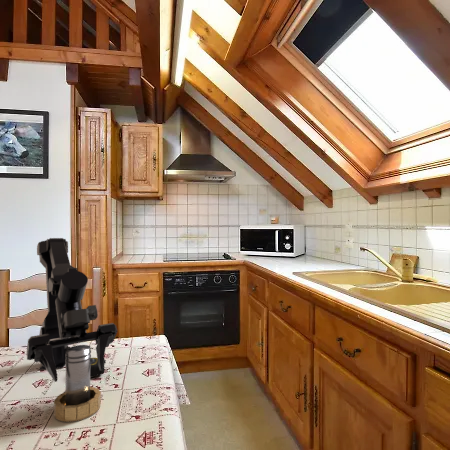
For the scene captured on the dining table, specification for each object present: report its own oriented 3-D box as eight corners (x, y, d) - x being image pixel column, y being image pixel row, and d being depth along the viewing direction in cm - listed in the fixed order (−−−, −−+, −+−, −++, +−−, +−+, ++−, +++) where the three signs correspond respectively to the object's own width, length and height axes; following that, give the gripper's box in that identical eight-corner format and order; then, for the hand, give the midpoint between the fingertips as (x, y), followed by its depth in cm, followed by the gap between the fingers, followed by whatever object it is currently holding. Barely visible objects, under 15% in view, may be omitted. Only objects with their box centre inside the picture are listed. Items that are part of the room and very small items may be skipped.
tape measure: (104, 378, 86) (104, 364, 86) (77, 381, 84) (77, 367, 84) (105, 368, 93) (106, 355, 93) (80, 371, 91) (80, 357, 91)
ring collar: (46, 424, 65) (47, 409, 65) (63, 400, 74) (64, 388, 74) (93, 420, 66) (93, 406, 66) (104, 397, 75) (104, 385, 75)
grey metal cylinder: (59, 413, 68) (60, 352, 69) (74, 400, 73) (75, 344, 74) (81, 415, 67) (81, 353, 68) (95, 402, 72) (95, 345, 73)
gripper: (28, 299, 69) (33, 368, 59) (115, 290, 80) (130, 347, 70) (25, 327, 75) (28, 394, 65) (106, 315, 86) (119, 370, 76)
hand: (79, 375), depth 69 cm, fingers open, 9 cm apart
